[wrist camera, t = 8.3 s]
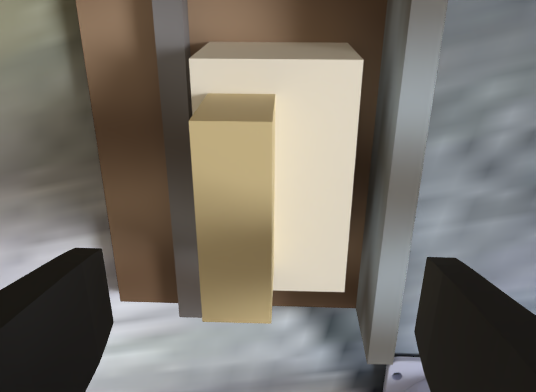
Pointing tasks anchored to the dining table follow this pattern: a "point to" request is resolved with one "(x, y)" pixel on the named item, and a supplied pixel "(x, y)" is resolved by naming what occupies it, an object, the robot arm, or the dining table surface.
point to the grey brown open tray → (179, 152)
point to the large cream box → (272, 171)
